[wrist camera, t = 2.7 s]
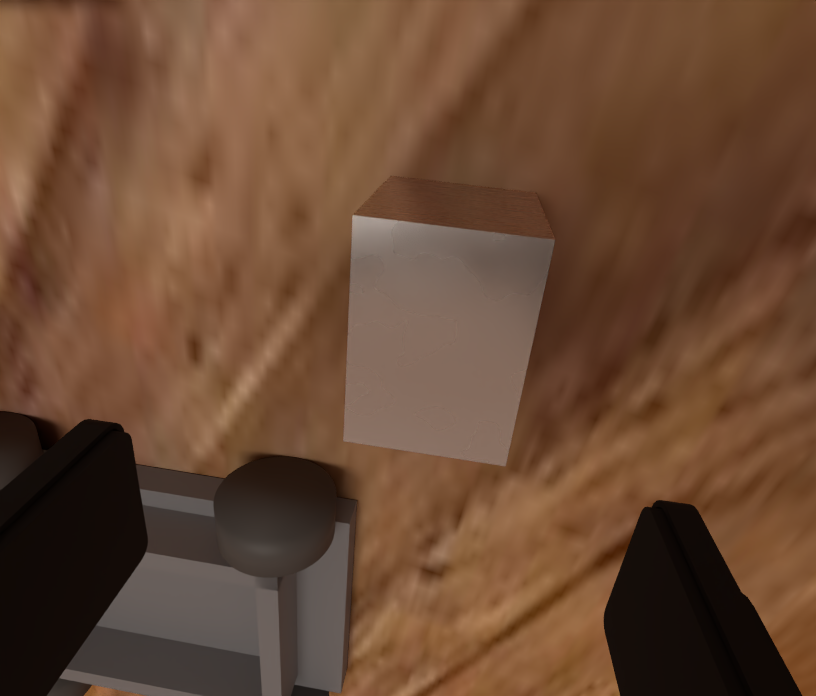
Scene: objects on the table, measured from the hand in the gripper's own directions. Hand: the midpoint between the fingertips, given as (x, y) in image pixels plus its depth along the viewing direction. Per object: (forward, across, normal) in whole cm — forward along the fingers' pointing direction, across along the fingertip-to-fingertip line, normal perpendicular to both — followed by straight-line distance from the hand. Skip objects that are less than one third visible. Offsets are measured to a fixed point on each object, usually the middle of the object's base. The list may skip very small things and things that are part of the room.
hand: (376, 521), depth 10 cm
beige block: (+12, -1, -1) cm, 12 cm away
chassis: (+12, +12, +17) cm, 24 cm away
